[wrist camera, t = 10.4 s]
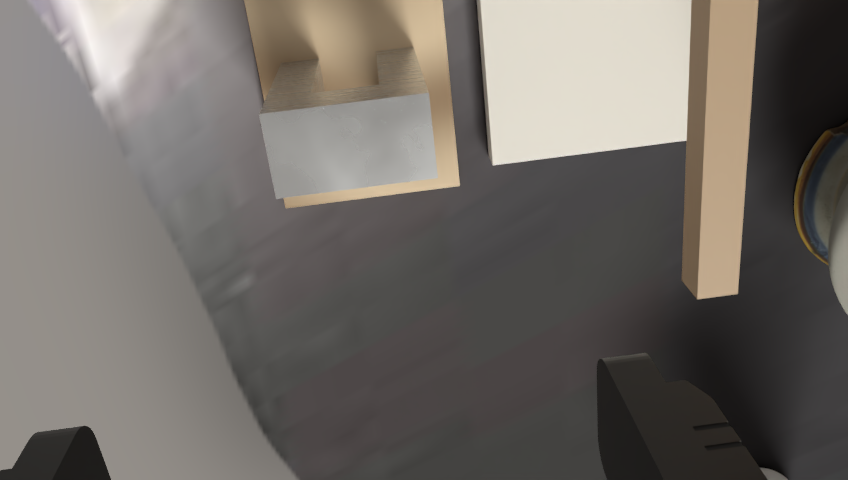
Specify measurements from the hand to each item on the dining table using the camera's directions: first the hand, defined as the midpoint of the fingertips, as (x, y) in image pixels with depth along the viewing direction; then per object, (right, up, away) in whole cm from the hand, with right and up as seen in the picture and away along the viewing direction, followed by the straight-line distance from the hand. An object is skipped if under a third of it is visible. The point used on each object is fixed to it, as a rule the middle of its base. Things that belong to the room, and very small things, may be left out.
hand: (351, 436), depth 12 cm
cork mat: (-2, +10, +22) cm, 24 cm away
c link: (-2, +10, +21) cm, 23 cm away
